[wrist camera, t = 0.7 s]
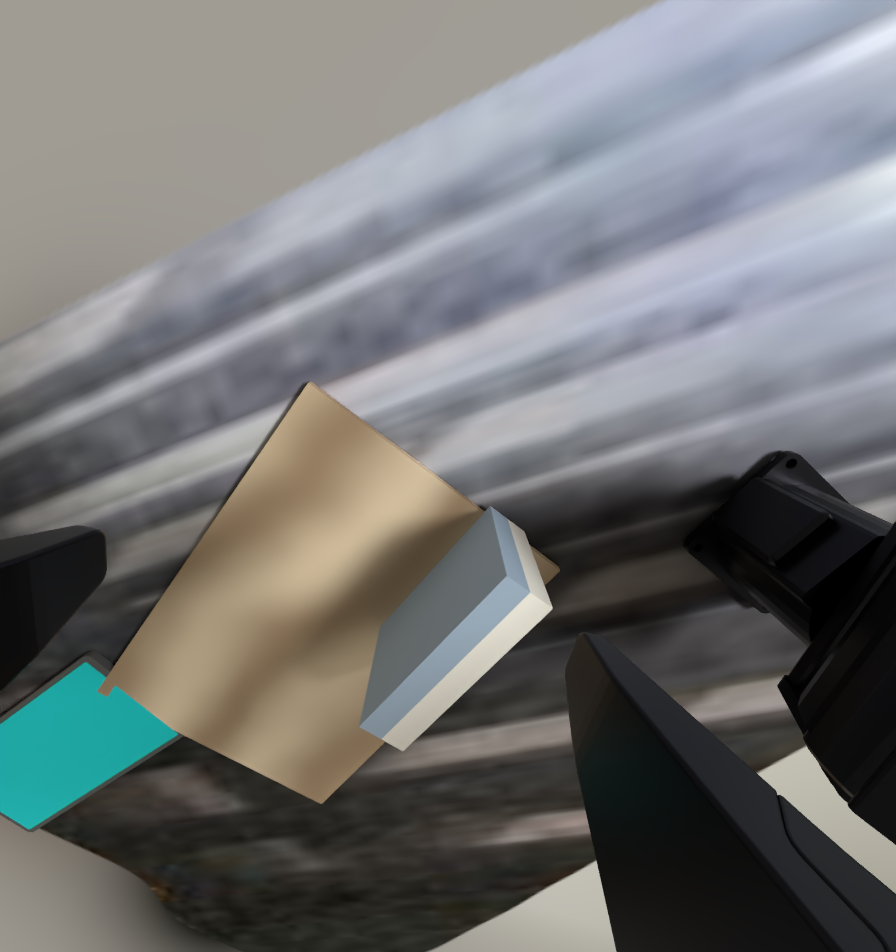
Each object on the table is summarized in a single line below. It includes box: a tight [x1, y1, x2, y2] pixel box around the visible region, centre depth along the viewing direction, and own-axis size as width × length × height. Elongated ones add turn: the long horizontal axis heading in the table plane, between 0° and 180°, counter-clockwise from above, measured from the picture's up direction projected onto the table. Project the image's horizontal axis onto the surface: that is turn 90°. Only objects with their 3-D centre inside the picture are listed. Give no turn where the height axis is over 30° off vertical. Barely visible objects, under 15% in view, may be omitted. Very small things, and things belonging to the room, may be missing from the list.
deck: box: [359, 506, 553, 751], centre depth 19 cm, size 2×9×6 cm, turn 141°
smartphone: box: [0, 651, 184, 832], centre depth 27 cm, size 7×1×15 cm
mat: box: [97, 382, 560, 804], centre depth 24 cm, size 15×22×1 cm
